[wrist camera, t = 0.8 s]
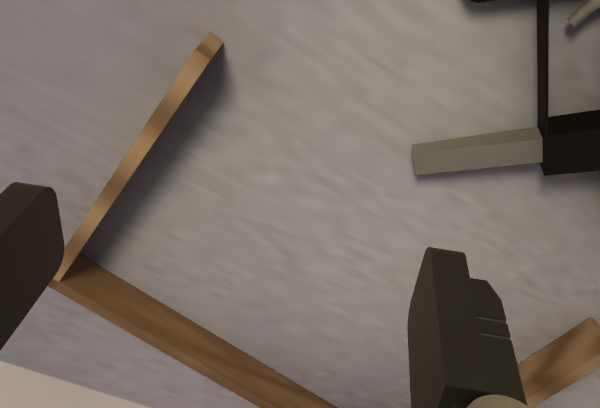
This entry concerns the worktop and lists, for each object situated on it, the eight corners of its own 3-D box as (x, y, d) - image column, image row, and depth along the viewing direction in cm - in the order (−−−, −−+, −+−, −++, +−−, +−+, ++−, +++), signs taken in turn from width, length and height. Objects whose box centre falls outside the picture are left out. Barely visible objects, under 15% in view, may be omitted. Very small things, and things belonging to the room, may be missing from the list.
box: (210, 32, 36) (195, 49, 33) (598, 324, 44) (614, 358, 41) (62, 254, 47) (41, 282, 44) (397, 452, 56) (398, 486, 53)
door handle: (424, 253, 40) (685, 235, 36) (384, -50, 30) (739, -122, 26) (424, 226, 43) (666, 207, 39) (387, -60, 33) (708, -127, 29)
